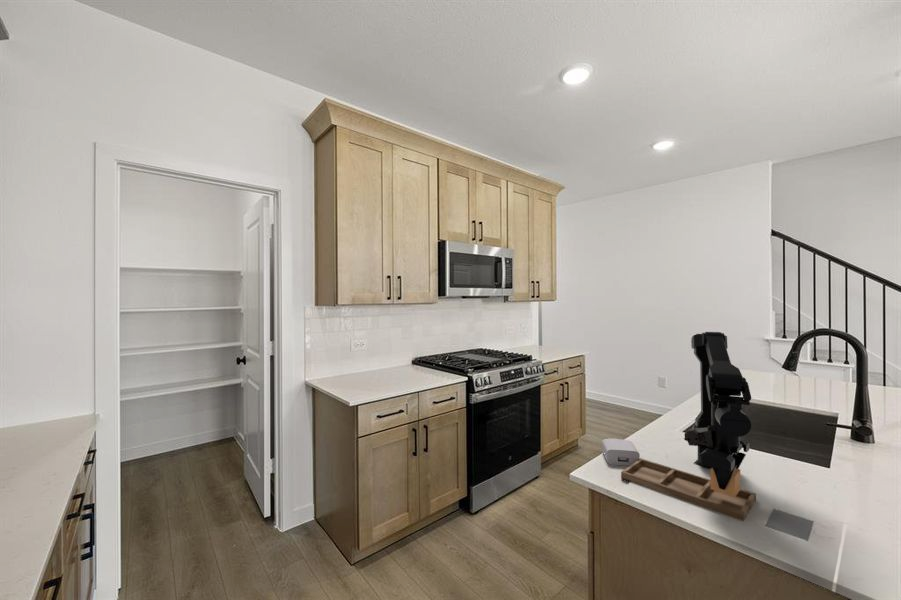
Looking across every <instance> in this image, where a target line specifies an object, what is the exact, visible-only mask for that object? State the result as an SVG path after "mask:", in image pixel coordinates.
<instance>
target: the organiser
mask: <svg viewBox="0 0 901 600" xmlns="http://www.w3.org/2000/svg"><path fill="white" fill-rule="evenodd" d="M620 473H621V474H620V477H621V479H622V480H621V479H620V480H621V481H624V480H625V481H624V482H627V481H628V483H629V482H630V483H632V482H633V483H635V484H638V485H640V486H644V487H647V488H648V489H649V488H650V489H653V490H655V491H657V492H660V493H663V494H667V495H669V496H672V497H675V498H678V499H680V500H683V501H685V502H689V503H691V504H694V505H697V506H699V507H702V508H705V509H709V510H711V511H714V512H717V513H719V514H722V515H725V516H728V517H731V518H733V519H736V520H739V521H742V522H744V521H745V519H746V518H747V516H748V514H749V513H750V511H751V510H752V508H753V506H754V505H755V503H756V501H757V493H755V492H751V491H748V490H745V489H741V488H740V491H739V492H738V494H737V495H736V497H733V496H730V495H727V494H724V493H721V492H718V491H715V490H711V489H710V478H709V479H708V478H706V477H702V476H699V475H695V474H693V473H690V472H686V471H684V470H680V469H677V468H674V467H670V466H666V465H663V464H660V463H657V462H654V461H651V460H647V459H645V458H641V457H640V459H639V460H637V461H636V462H635V463H633V464H632V465H630V466H628V467H625V468H624V469H623V470H621V472H620Z"/></svg>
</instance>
